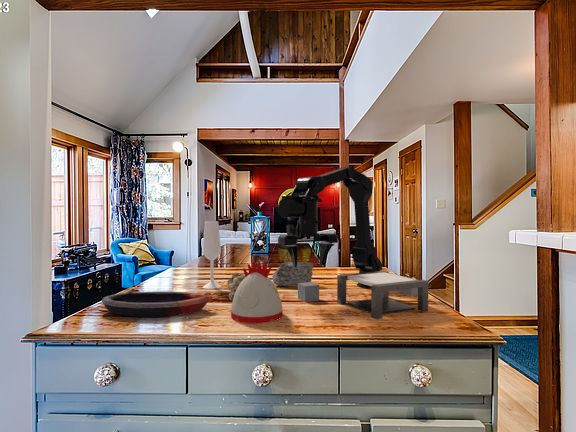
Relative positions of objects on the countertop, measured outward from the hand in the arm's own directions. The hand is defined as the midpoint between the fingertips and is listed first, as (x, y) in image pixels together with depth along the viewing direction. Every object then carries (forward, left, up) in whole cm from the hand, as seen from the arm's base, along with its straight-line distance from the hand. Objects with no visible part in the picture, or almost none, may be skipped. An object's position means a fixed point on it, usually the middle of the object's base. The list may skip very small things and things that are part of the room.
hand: (308, 266), depth 124 cm
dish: (+45, -6, -11) cm, 47 cm away
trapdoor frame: (-15, +17, -10) cm, 25 cm away
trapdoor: (-17, +17, -7) cm, 25 cm away
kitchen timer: (+21, +10, -11) cm, 26 cm away
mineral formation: (+17, -12, -11) cm, 23 cm away
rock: (-5, -22, -11) cm, 25 cm away
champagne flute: (+23, -32, -11) cm, 41 cm away
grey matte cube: (0, 0, -11) cm, 11 cm away
